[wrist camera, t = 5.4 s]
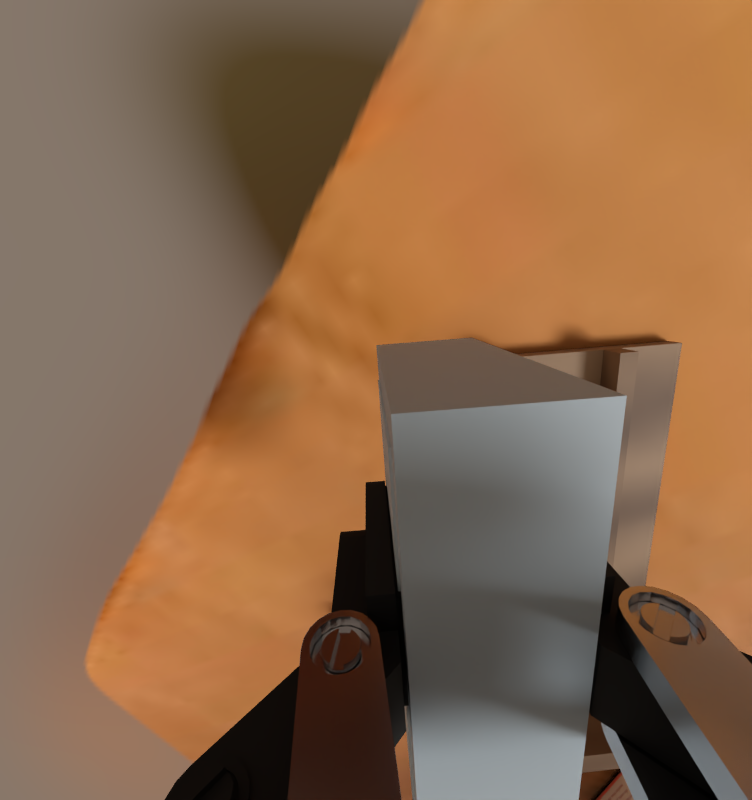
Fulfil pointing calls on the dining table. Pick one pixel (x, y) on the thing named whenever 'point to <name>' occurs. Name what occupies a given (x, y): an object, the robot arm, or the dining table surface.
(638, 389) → the track base
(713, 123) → the dining table surface
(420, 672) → the door slab
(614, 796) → the cracker box
